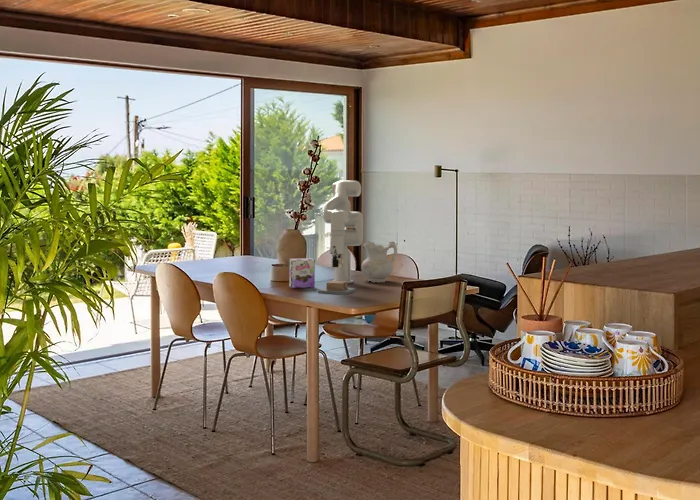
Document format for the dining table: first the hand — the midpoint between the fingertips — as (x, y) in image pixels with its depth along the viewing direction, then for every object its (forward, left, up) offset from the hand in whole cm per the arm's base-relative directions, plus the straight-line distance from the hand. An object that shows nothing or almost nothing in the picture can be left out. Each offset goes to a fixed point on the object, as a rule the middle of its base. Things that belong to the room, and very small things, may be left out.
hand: (337, 266), depth 460 cm
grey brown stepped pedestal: (0, 0, -14) cm, 14 cm away
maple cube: (0, 0, -1) cm, 1 cm away
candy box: (-10, -25, -15) cm, 31 cm away
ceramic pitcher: (-53, +8, -15) cm, 56 cm away
